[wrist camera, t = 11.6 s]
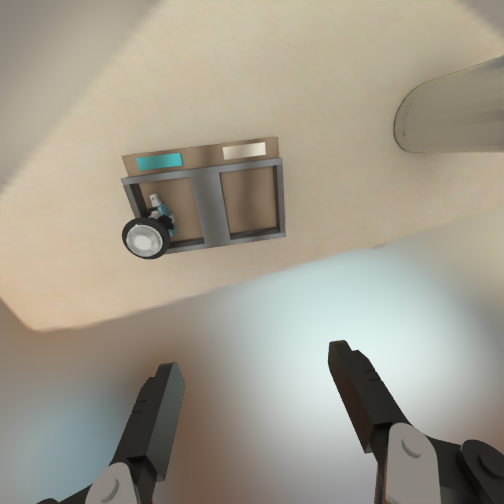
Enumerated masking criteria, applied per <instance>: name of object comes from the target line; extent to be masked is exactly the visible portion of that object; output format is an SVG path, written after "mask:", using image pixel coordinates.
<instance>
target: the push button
mask: <svg viewBox="0 0 504 504" xmlns="http://www.w3.org/2000/svg"><path fill="white" fill-rule="evenodd" d="M155 196H156V197H157V199H156V197H155ZM152 197H153V199H152ZM150 199H151V201H152V206H153V207H152V208H149V209H148V210H147V212H148V214H149V217H148V218H145V217H141V218H136V219H133V220H131V221H130V222H128V223H127V224H126V225H125V227H124V229H123V231H122V239H123V242H124V245H125V246H126V248H127V249H128V250H129V251H130V252H131V253H132V254H134V255H135V256H137V257H140V258H143V259H156V258H159V257H161V256H162V255H164V254H165V253H166V251H167V250H168V248H169V245H170V236H174V234H175V233H176V231H177V229H176V227H175V225H174V222H175V220H176V217H175V215H174V213H173V214H172V215H170V212H169V210H168V208H167V205H166V203H164V204H162V203H161V200H159V198H158V195H157V194H152V195H151V196H150ZM139 223H140V224H139ZM136 224H139V225H137V226H135V225H136ZM134 226H135V227H134ZM163 242H164V246H163V247H162V244H163ZM161 247H162V248H161Z"/></svg>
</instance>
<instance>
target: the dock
mask: <svg viewBox="0 0 504 504" xmlns="http://www.w3.org/2000/svg"><path fill="white" fill-rule="evenodd" d="M122 159H123V161H124V164H125V167H126V170H127V173H128V175H129V177H126V178H122V179H121V181H122V184H123V187H124V189H125V192H126V195H127V197H128V200H129V203H130V205H131V208H132V211H133V213H134V216H135V219H136V218H141V217H145V218H148V217H149V214H148V212H147V210H148V209H149V208H152V207H153V206H152V201H151V199H150V196H151V195H152V194H157V195H158V198H159V200H161V203H162V204H164V203H166V205H167V208H168V210H169V212H170V215H172V214H173V213H174V215H175V217H176V220H175V222H174V225H175V227H176V229H177V231H176V233H175V234H174V236H170V245H169V248H168V250H167V251H166V253H165V254H171V253H178V252H185V251H192V250H198V249H205V248H212V247H219V246H226V245H233V244H240V243H247V242H254V241H261V240H268V239H275V238H281V237H286V234H285V212H284V189H283V166H282V158H279V151H278V137H271V138H263V139H255V140H247V141H239V142H231V143H223V144H215V145H207V146H199V147H191V148H183V149H175V150H167V151H159V152H151V153H143V154H135V155H127V156H122ZM155 197H156V196H155ZM152 199H153V197H152ZM156 199H157V197H156ZM139 224H140V223H139ZM139 224H138V225H139ZM163 246H164V242H163V244H162V247H163ZM162 247H161V248H162Z"/></svg>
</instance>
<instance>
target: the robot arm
mask: <svg viewBox="0 0 504 504" xmlns="http://www.w3.org/2000/svg"><path fill="white" fill-rule="evenodd" d="M394 131H395V137H396V140H397V143H398V144H399V146H400V147H401V148H403V149H404V150H406V151H408V152H504V55H503V56H500V57H497V58H495V59H492V60H489V61H486V62H483V63H480V64H478V65H475V66H472V67H469V68H466V69H463V70H461V71H458V72H455V73H452V74H449V75H446V76H443V77H441V78H438V79H435V80H432V81H430V82H427V83H424V84H422V85H420V86H418V87H417V88H415V89H414V90H413V91H412V92H411V93H410V94H409V95H408V96H407V97H406V99H405V100H404V102H403V103H402V105H401V107H400V109H399V111H398V113H397V116H396V120H395V128H394ZM328 366H329V370H330V373H331V375H332V377H333V380H334V382H335V384H336V386H337V389H338V392H339V394H340V396H341V399H342V401H343V403H344V405H345V408H346V410H347V412H348V415H349V417H350V420H351V422H352V424H353V427H354V429H355V431H356V434H357V436H358V438H359V441H360V443H361V446H362V448H363V450H364V453H373V454H374V456H375V458H376V460H377V462H378V465H377V475H376V487H375V497H374V504H504V455H503V454H502V453H500V452H499V451H498V450H496V449H495V448H493V447H492V446H490V445H488V444H486V443H484V442H481V441H478V440H467V441H465V442H464V443H463V445H458V444H453V443H450V442H445V441H441V440H437V439H434V438H431V437H429V436H426V435H424V434H423V433H422V432H420V431H419V430H418V429H416V428H415V427H414V426H413V425H412V424H410V422H409V421H408V420H407V419H406V417H405V416H404V414H403V413H402V411H401V410H400V408H399V407H398V405H397V403H396V402H395V400H394V399H393V397H392V395H391V394H390V392H389V391H388V389H387V387H386V386H385V384H384V383H383V381H381V378H380V377H379V375H378V373H377V372H376V371H375V369H374V367H373V365H372V364H371V362H370V361H369V359H368V358H367V357H366V356H365V355H363V354H362V353H361V352H360V351H359V350H355V351H352V350H351V348H350V347H349V345H348V343H347V342H346V341H345V340H340V341H333V342H330V343H329V353H328ZM183 395H184V379H183V376H182V374H181V372H180V369H179V367H178V364H177V363H176V362H172V363H164V364H160V366H159V367H158V370H157V373H156V376H155V377H149V379H148V380H147V381H146V383H145V384H144V385H143V387H142V388H141V390H140V392H139V395H138V397H137V400H136V404H135V405H134V407H133V410H132V414H131V415H130V417H129V420H128V422H127V425H126V427H125V430H124V433H123V435H122V437H121V440H120V442H119V445H118V447H117V450H116V452H115V455H114V457H113V459H112V461H111V463H110V465H109V466H108V468H106V469H105V470H104V471H103V472H102V473H101V474H100V475H99V476H98V477H97V479H96V480H95V481H94V483H93V484H91V485H90V486H88V487H87V488H85V489H83V490H81V491H79V492H77V493H76V494H74V495H72V496H70V497H68V498H66V499H65V500H63V501H61V502H57V501H56V500H54V499H52V498H49V499H45V500H43V501H40V502H39V503H37V504H155V502H154V499H153V492H154V488H155V483H156V482H160V481H165V478H166V473H167V468H168V464H169V459H170V455H171V450H172V445H173V441H174V436H175V432H176V427H177V422H178V418H179V413H180V408H181V404H182V399H183Z"/></svg>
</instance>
